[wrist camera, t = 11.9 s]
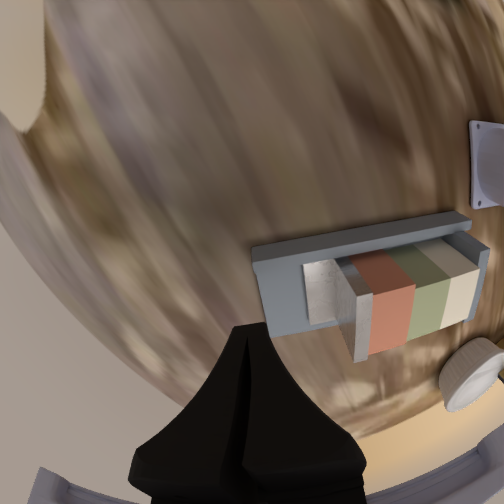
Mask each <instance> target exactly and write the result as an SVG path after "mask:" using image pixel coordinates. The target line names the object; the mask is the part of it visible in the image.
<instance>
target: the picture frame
mask: <svg viewBox="0 0 504 504" xmlns="http://www.w3.org/2000/svg"><path fill="white" fill-rule="evenodd" d="M496 346H497V347H499V348H500V349H503V350H504V338H503V339H502V340H500V341H499V342H498V343H497V344H496ZM498 378H499V379H500V380H501V381H502V382H503V383H504V369H503V370H502V371H501V372H499V373H498Z"/></svg>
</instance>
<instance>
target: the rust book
mask: <svg viewBox="0 0 504 504" xmlns="http://www.w3.org/2000/svg"><path fill="white" fill-rule="evenodd" d="M348 258H349V259H350V260H351V262H352V263H353V265H354V266H355V267H356V269H357V270H358V272H359V273H360V275H361V276H362V277H363V279H364V280H365V282H366V283H367V285H368V286H369V288H370V289H371V291H372V292H373V303H372V318H371V330H370V341H369V350H368V355H370V354H374V353H377V352H381V351H384V350H387V349H391V348H394V347H397V346H400V345H403V344H406V340H407V335H408V330H409V325H410V320H411V314H412V308H413V301H414V295H415V287H416V284H415V283H414V282H413V281H412V279H411V278H410V277H409V276H408V275H407V274H406V273H405V272H404V271H403V270H402V269H401V268H400V267H399V266H398V265H397V263H396V262H395V261H394V260H393V259H392V258H391V257H390V256H389V255H388V254H387V253H386V252H385V251H384V250H383V249H378V250H374V251H369V252H364V253H359V254H354V255H349V256H348Z"/></svg>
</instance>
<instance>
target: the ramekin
mask: <svg viewBox="0 0 504 504" xmlns="http://www.w3.org/2000/svg"><path fill="white" fill-rule="evenodd" d="M503 369H504V350H503V349H500V348H499V347H497V346H496V345H495V344H494V343H492V342H491V341H490V340H488V339H487V338H483V337H482V338H475V339H473V340H471V341H469V342H467V343H466V344H464V345H463V346H462V347H460V348H459V349H458V350H457V351H456V352H455V353H454V354H453V355H452V356H451V357H450V358H449V360H448V361H447V362H446V364H445V365H444V367H443V368H442V370H441V372H440V376H439V387H440V390H441V393H442V396H443V399H444V406H445V408H446V410H447V411H448V412H455V411H458V410H461V409H463V408H465V407H466V406H468V405H470V404H472V403H473V402H474V401H476V400H477V399H478V398H480V397H481V396H482V395H483V394H484V393H485V392H486V391H487V390H488V389H489V388H490V387H491V386H492V385H493V384H494V383H495V381H496V380H497V379H498V373H499V372H501V371H502V370H503Z"/></svg>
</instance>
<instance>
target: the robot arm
mask: <svg viewBox="0 0 504 504" xmlns="http://www.w3.org/2000/svg"><path fill="white" fill-rule="evenodd" d="M469 131H470V143H471V168H472V184H471V207H472V208H473V209H481V208H486V207H492V206H497V205H501V206H503V207H504V124H498V123H491V122H483V121H474V120H471V121H470V122H469ZM478 202H479V203H478ZM366 463H367V462H366V459H365V457H364V454H363V452H362V450H361V449H360V448H359V446H358V444H357V443H356V441H355V440H354V439H353V437H352V436H351V434H349V433H348V432H347V431H345V430H344V429H343V428H341V427H340V426H339V425H338V424H336V423H335V422H334V421H333V420H332V419H331V418H329V417H328V416H327V415H326V414H325V413H324V412H323V411H322V410H321V409H320V408H319V407H318V406H317V405H316V404H315V403H314V402H313V401H312V400H311V399H310V398H309V397H308V396H307V395H306V394H305V393H304V391H303V390H302V389H301V388H300V387H299V385H298V384H297V383H296V381H295V380H294V379H293V377H292V376H291V375H290V373H289V372H288V370H287V369H286V367H285V366H284V364H283V362H282V361H281V359H280V357H279V355H278V353H277V352H276V350H275V348H274V346H273V343H272V341H271V339H270V336H269V331H268V327H267V324H266V323H265V322H260V323H254V324H248V325H241V326H234V328H233V329H232V331H231V334H230V336H229V338H228V341H227V343H226V345H225V347H224V349H223V351H222V353H221V355H220V357H219V359H218V361H217V363H216V364H215V366H214V368H213V370H212V371H211V373H210V374H209V376H208V378H207V379H206V381H205V382H204V384H203V385H202V387H201V388H200V389H199V391H198V392H197V393H196V395H195V396H194V397H193V399H192V400H191V401H190V402H189V403H188V404H187V406H186V407H185V408H184V409H183V410H182V411H181V412H180V413H179V414H178V415H177V417H175V418H174V419H173V420H172V421H171V422H170V423H169V424H168V425H167V426H166V427H165V428H164V429H162V430H161V431H160V432H159V433H158V434H156V435H155V436H154V437H152V438H151V439H150V440H148V441H147V442H146V443H144V444H143V445H141V446H140V447H138V448H137V449H136V451H135V454H134V456H133V459H132V463H131V468H130V472H129V476H128V481H129V482H130V484H131V485H132V486H134V487H135V488H137V489H139V490H140V491H142V492H144V493H145V494H147V495H149V496H151V497H152V499H151V504H484V503H485V502H486V501H488V500H489V499H490V498H491V497H493V496H494V495H495V494H497V493H498V492H499V491H501V490H502V489H503V488H504V423H503V424H502V425H501V426H500V427H498V428H497V429H495V430H494V431H492V432H491V433H490V434H488V435H487V436H486V437H484V438H483V439H482V440H481V441H480V442H479V443H478V445H477V446H476V447H474V448H473V449H471V450H469V451H468V452H466V453H464V454H463V455H461V456H459V457H457V458H455V459H454V460H452V461H450V462H448V463H446V464H444V465H442V466H440V467H438V468H436V469H434V470H432V471H430V472H428V473H426V474H423V475H421V476H419V477H416V478H414V479H412V480H410V481H407V482H404V483H402V484H399V485H396V486H394V487H391V488H388V489H385V490H382V491H379V492H376V493H373V494H370V495H366V496H365V492H364V488H363V486H364V481H363V476H362V474H363V471H364V470H365V467H366ZM27 504H138V503H134V502H129V501H125V500H121V499H118V498H114V497H110V496H107V495H104V494H101V493H97V492H94V491H91V490H88V489H86V488H83V487H80V486H77V485H75V484H72V483H70V482H68V481H67V480H66V479H64V478H63V477H61V476H59V475H58V474H56V473H54V472H51V471H49V470H47V469H45V468H43V467H40V468H39V471H38V473H37V476H36V479H35V482H34V485H33V488H32V491H31V494H30V497H29V500H28V503H27Z"/></svg>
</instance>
